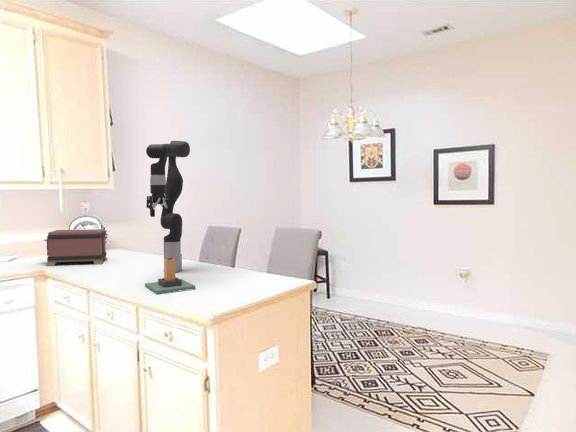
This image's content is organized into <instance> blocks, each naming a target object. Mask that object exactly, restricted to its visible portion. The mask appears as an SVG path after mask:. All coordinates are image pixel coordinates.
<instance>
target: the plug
mask: <svg viewBox="0 0 576 432" xmlns="http://www.w3.org/2000/svg"><path fill="white" fill-rule="evenodd" d="M175 277H176V272H175V259H172V258H167V259H164V258H163V278H164V281H173V280H175Z"/></svg>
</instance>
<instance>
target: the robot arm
mask: <svg viewBox="0 0 576 432" xmlns="http://www.w3.org/2000/svg"><path fill="white" fill-rule="evenodd" d="M190 146H191V145H190V143H189V142H188V141H183V140H171V141H170V143H161V144H160V143H159V144H157V143H155V144H154V143H153V144H151V143H150V144H149V145H148V146H147V147H146V149H145V150H146V151H145V152H146V155H147V157H149V158H150V159H158V161H157V162H152V163H151V164H150V177H149V178H150V179H149V181H150V182H149V183H150V184H149V186H150V187H149V188H150V189H149V190H150V194H151V195H146V209H149V215H150V217H151V218H154V217H155V216H156V209H155V208H156V207H157V206H158V205H160V206H161V214H160V226H161V228H162V229H164V230H169V233H168V234H167V235H165V236H164V237H163V260H164V259H167V258H172V259H175V273H180V272H181V271H183V263H182V262H183V259H182V258H183V255H182V251H181V250H182V248H181V246H182V245H181V242H182V241H181V239H182V234H183V218H182V216H181V214H179V213H175V212H174V209H175V208H174V207H175V204H176V202H177V201H178V199H179V198H180V196H181V194H182V193H183V188H184V187H183V185H184V179H183V176H182V173H181V172H180V170H179V168H178V165H177V160H176V159H177V158H187V157H188V156H189V155H190V152H191V147H190ZM167 160H168V162H167ZM166 165H168V166H167V174H166Z"/></svg>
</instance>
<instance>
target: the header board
mask: <svg viewBox="0 0 576 432" xmlns="http://www.w3.org/2000/svg"><path fill="white" fill-rule="evenodd" d="M144 287H145V288H146V289H148V290H149V291H151V292H153V293H154V294H155V295H163V294H162V293H164V294H169V293H168V292H171V293H174V292H173V291H178V292H180V291H179V290H185V291H187V290H186V289H192V290H196V285H194V284H192V283H190V282H189V281H187V280H184V279H183V278H178V277H176V276H175V280H173V281H164V277H163V278H158V279H157V281H155V282H146V283H144Z"/></svg>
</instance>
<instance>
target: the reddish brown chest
mask: <svg viewBox="0 0 576 432" xmlns="http://www.w3.org/2000/svg"><path fill="white" fill-rule="evenodd" d="M106 235H107V233H106V230H105V228H104V229H103V228H101V229H98V228H97V229H55V230H53V231H49V232H47V236H46V239H43V242H46V256H47V259H46V261H47V264H46V265H45V267H55V266H56V265H57V264H58V263H70V262H71V263H72V262H73V263H74V262H78V263H79V262H93V264H94V265H98V266H99V265H103V264H104V262H106V261H108V258H107V257H108V256H107V251H106Z"/></svg>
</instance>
